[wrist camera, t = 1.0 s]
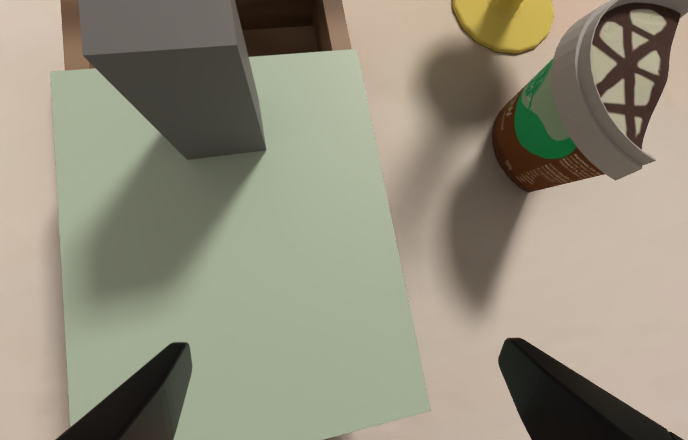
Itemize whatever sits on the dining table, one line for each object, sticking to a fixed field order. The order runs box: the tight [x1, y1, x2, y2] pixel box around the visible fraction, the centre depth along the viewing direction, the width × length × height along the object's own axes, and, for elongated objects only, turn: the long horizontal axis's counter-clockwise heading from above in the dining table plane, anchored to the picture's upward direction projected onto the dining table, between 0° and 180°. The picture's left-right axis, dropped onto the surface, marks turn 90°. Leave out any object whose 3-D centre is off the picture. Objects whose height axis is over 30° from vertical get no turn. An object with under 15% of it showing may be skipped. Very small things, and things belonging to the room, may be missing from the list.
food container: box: [492, 0, 688, 192], centre depth 23 cm, size 12×6×10 cm, turn 154°
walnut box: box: [61, 0, 351, 71], centre depth 21 cm, size 20×16×6 cm
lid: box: [50, 0, 431, 440], centre depth 12 cm, size 20×16×9 cm
